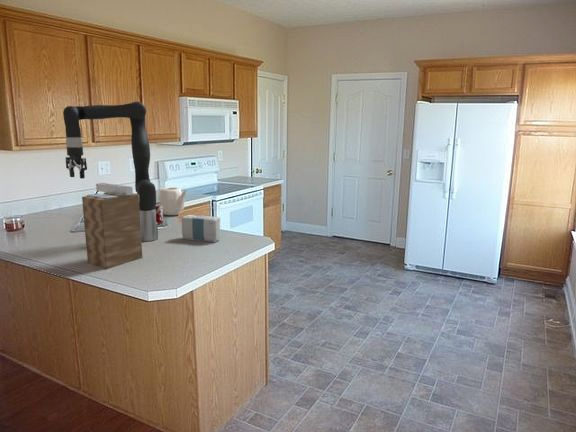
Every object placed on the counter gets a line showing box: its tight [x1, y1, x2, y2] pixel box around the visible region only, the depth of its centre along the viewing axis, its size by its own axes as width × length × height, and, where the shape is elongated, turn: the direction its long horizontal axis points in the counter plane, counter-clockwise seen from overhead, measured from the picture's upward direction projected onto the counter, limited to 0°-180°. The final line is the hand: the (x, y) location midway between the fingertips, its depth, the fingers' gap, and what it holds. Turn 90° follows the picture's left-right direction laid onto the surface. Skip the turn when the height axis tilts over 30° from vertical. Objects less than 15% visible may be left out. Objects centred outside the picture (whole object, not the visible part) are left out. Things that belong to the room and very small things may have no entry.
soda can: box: [155, 203, 164, 225], centre depth 287 cm, size 7×7×12 cm
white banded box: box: [181, 205, 221, 242], centre depth 249 cm, size 21×8×20 cm, turn 73°
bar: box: [95, 182, 134, 195], centre depth 210 cm, size 22×4×4 cm, turn 58°
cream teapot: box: [158, 186, 188, 216], centre depth 314 cm, size 16×27×19 cm, turn 59°
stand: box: [81, 192, 143, 270], centre depth 209 cm, size 14×20×32 cm
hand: (77, 177), depth 230 cm, fingers open, 8 cm apart
